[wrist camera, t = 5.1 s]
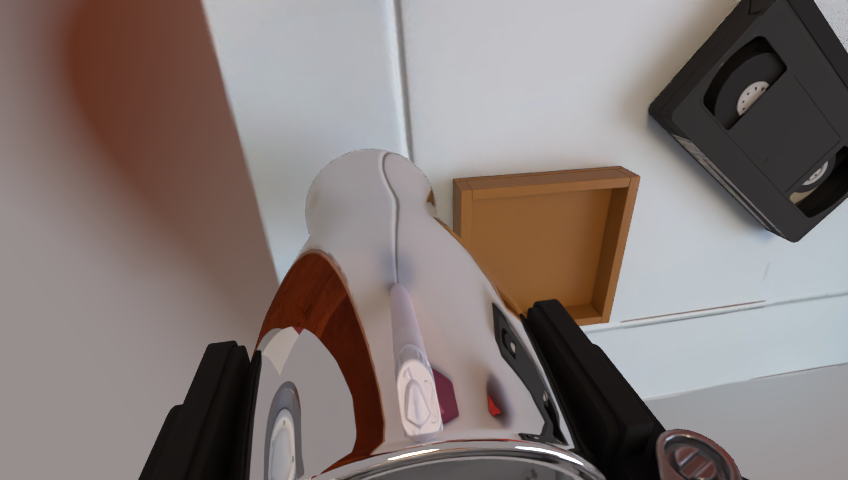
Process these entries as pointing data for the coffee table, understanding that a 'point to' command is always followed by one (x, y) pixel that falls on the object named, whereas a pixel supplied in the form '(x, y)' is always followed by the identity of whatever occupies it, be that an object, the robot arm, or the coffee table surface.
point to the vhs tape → (767, 113)
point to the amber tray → (551, 234)
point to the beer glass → (398, 351)
